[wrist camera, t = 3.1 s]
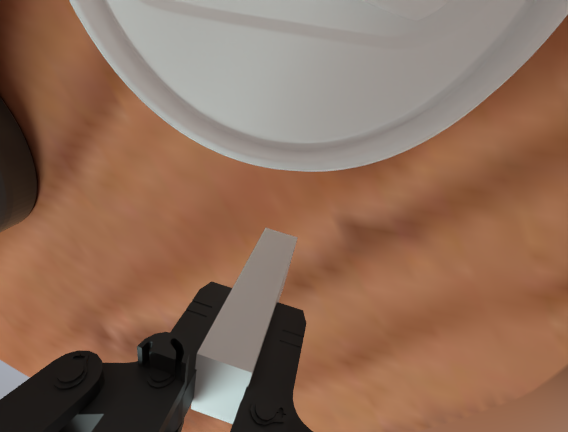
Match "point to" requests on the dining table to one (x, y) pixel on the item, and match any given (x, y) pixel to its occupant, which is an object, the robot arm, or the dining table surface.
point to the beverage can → (316, 69)
